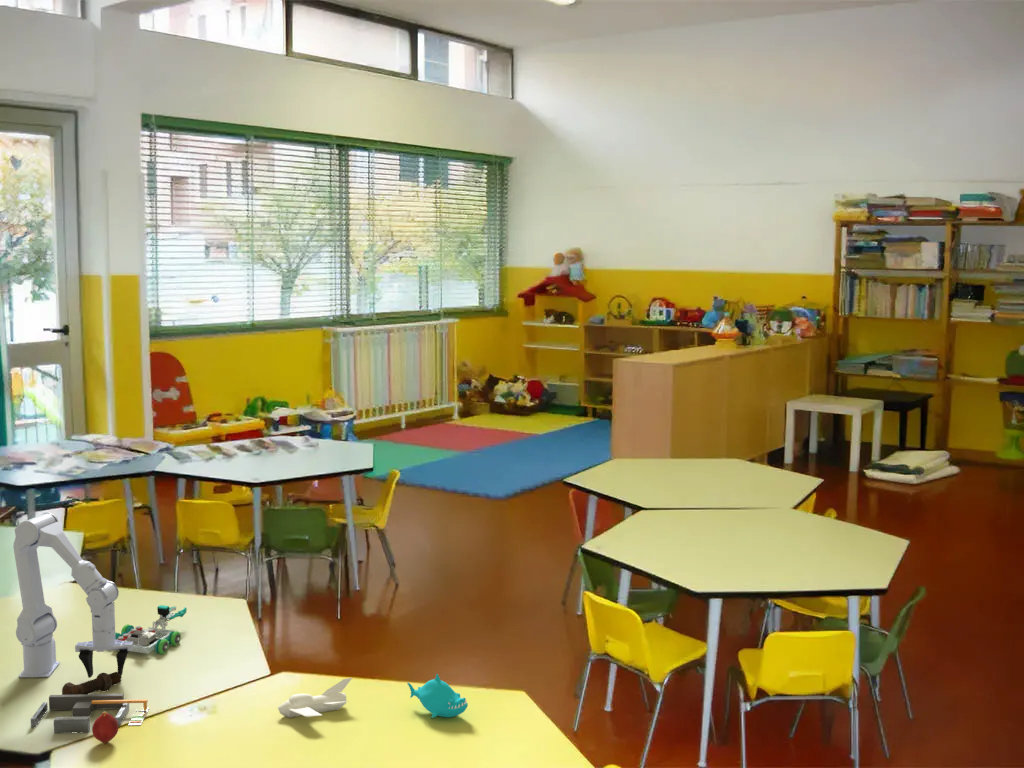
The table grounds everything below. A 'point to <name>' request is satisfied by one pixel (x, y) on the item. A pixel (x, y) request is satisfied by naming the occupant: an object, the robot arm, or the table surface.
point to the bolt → (93, 684)
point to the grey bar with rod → (89, 703)
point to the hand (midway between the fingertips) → (105, 675)
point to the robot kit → (153, 633)
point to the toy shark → (439, 698)
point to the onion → (105, 728)
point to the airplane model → (315, 702)
